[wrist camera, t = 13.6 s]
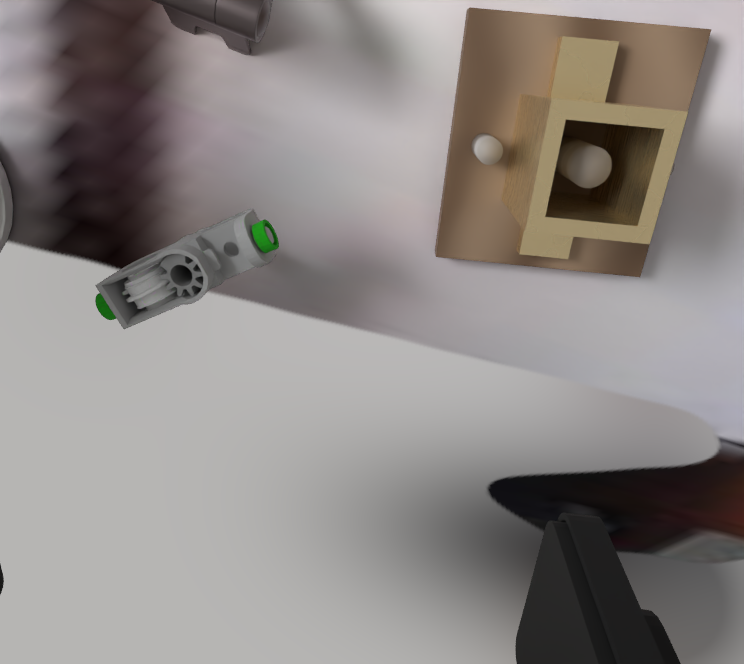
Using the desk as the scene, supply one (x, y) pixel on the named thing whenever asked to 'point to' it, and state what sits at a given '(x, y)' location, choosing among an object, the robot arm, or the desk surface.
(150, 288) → the mechanical component
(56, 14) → the desk surface
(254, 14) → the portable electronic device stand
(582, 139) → the post dock
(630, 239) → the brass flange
